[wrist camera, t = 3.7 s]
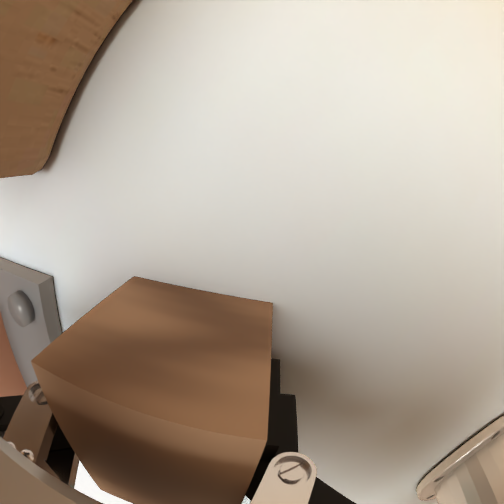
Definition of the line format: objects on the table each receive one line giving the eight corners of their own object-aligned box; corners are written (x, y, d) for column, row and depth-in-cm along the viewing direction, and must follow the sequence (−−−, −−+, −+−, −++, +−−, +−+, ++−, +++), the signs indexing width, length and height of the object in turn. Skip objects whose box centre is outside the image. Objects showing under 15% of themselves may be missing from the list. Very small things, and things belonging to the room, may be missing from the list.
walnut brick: (272, 302, 9) (267, 440, 4) (244, 429, 11) (229, 527, 6) (134, 275, 9) (30, 360, 4) (144, 405, 11) (100, 489, 6)
